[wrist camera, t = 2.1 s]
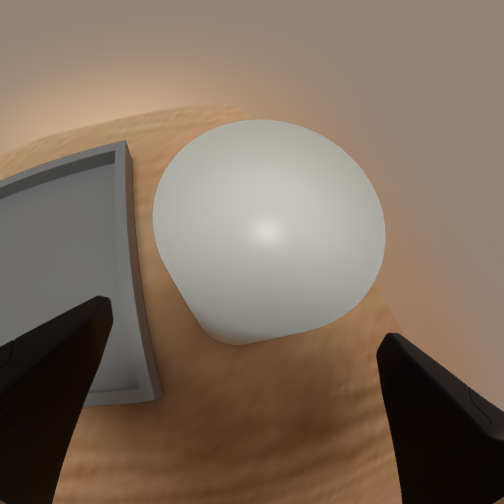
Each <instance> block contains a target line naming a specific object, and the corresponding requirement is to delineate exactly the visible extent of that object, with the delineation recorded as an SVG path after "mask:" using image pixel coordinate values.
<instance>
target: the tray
mask: <svg viewBox="0 0 504 504" xmlns="http://www.w3.org/2000/svg"><path fill="white" fill-rule="evenodd" d="M98 295H100V296H105V297H109V298H110V300H111V304H112V312H113V326H112V329H111V332H110V335H109V338H108V341H107V344H106V347H105V351H104V354H103V357H102V360H101V363H100V366H99V368H98V371H97V373H96V375H95V378H94V380H93V383H92V385H91V387H90V390H89V392H88V395H87V397H86V400H85V402H84V405H83V406H103V405H118V404H129V403H139V402H148V401H155V400H157V399H158V398H159V397H160V396H162V395H163V392H162V388H161V384H160V380H159V376H158V371H157V367H156V363H155V358H154V353H153V349H152V344H151V339H150V333H149V328H148V323H147V317H146V311H145V305H144V298H143V292H142V285H141V277H140V269H139V261H138V252H137V242H136V230H135V217H134V201H133V177H132V158H131V155H130V152H129V149H128V146H127V143H126V140H124V141H120V142H116V143H112V144H108V145H104V146H100V147H96V148H92V149H89V150H85V151H82V152H78V153H75V154H72V155H69V156H65V157H62V158H59V159H56V160H53V161H50V162H47V163H44V164H42V165H39V166H36V167H33V168H31V169H28V170H25V171H23V172H20V173H18V174H15V175H13V176H10V177H8V178H6V179H3V180H1V181H0V346H2V345H4V344H6V343H8V342H10V341H11V340H15V338H17V337H19V336H21V335H23V334H24V333H26V332H28V331H30V330H32V329H34V328H36V327H37V326H39V325H41V324H43V323H45V322H47V321H49V320H51V319H53V318H55V317H56V316H58V315H60V314H62V313H64V312H66V311H68V310H70V309H72V308H74V307H76V306H78V305H80V304H82V303H84V302H86V301H87V300H89V299H91V298H93V297H95V296H98Z"/></svg>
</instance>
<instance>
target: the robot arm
mask: <svg viewBox="0 0 504 504" xmlns="http://www.w3.org/2000/svg"><path fill="white" fill-rule="evenodd" d="M112 326H113V312H112V304H111V300H110V298H109V297H105V296H100V295H98V296H95V297H93V298H91V299H89V300H87V301H86V302H84V303H82V304H80V305H78V306H76V307H74V308H72V309H70V310H68V311H66V312H64V313H62V314H60V315H58V316H56V317H55V318H53V319H51V320H49V321H47V322H45V323H43V324H41V325H39V326H37V327H36V328H34V329H32V330H30V331H28V332H26V333H24V334H23V335H21V336H19V337H17V338H15V340H11V341H10V342H8V343H6V344H4V345H2V346H0V504H52V502H53V498H54V494H55V490H56V486H57V483H58V479H59V476H60V471H61V468H62V465H63V462H64V459H65V455H66V452H67V449H68V446H69V443H70V440H71V437H72V435H73V432H74V429H75V426H76V423H77V421H78V418H79V415H80V413H81V410H82V407H83V405H84V402H85V400H86V397H87V395H88V392H89V390H90V387H91V385H92V383H93V380H94V378H95V375H96V373H97V371H98V368H99V366H100V363H101V360H102V357H103V354H104V351H105V347H106V344H107V341H108V338H109V335H110V332H111V329H112ZM376 357H377V363H378V370H379V376H380V383H381V390H382V395H383V400H384V404H385V408H386V413H387V417H388V422H389V426H390V431H391V436H392V441H393V446H394V451H395V457H396V463H397V468H398V475H399V481H400V488H401V494H402V495H401V496H402V504H504V412H503V411H502V410H500V409H499V408H497V407H496V406H494V405H493V404H492V403H490V402H489V401H487V400H486V399H484V398H483V397H481V396H480V395H479V394H478V393H476V392H475V391H474V390H472V389H471V388H470V387H468V386H467V385H466V384H465V383H463V382H462V381H461V380H459V379H458V378H457V377H455V376H454V375H453V374H452V373H450V372H449V371H448V370H446V369H445V368H444V367H443V366H441V365H440V364H439V363H437V362H436V361H435V360H433V359H432V358H431V357H429V356H428V355H427V354H425V353H424V352H423V351H421V350H420V349H419V348H417V347H416V346H415V345H413V344H412V343H411V342H409V341H408V340H407V339H405V338H404V337H403V336H401V335H400V334H399V333H388V334H386V335H385V337H384V339H383V341H382V343H381V345H380V346H379V348H378V350H377V354H376Z"/></svg>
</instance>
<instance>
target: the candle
mask: <svg viewBox="0 0 504 504" xmlns="http://www.w3.org/2000/svg"><path fill="white" fill-rule="evenodd" d="M153 230H154V235H155V240H156V245H157V248H158V250H159V253H160V256H161V259H162V261H163V263H164V265H165V267H166V268H167V270H168V272H169V274H170V276H171V278H172V279H173V281H174V283H175V285H176V286H177V288H178V290H179V291H180V293H181V295H182V297H183V298H184V300H185V302H186V303H187V305H188V307H189V308H190V310H191V312H192V313H193V315H194V317H195V318H196V320H197V321H198V323H199V325H200V326H201V328H202V329H203V330H204V331H205V332H206V333H207V334H208V335H209V336H210V337H212V338H213V339H215V340H217V341H219V342H221V343H224V344H228V345H244V344H250V343H255V342H260V341H265V340H270V339H274V338H279V337H284V336H288V335H292V334H297V333H301V332H305V331H309V330H314V329H316V328H319V327H322V326H324V325H327V324H329V323H331V322H333V321H335V320H337V319H338V318H340V317H342V316H343V315H345V314H346V313H347V312H349V311H350V310H351V309H352V308H354V307H355V306H356V305H357V304H358V303H359V302H360V301H361V299H362V298H363V297H364V296H365V295H366V294H367V292H368V291H369V289H370V288H371V286H372V285H373V283H374V281H375V279H376V277H377V274H378V273H379V270H380V267H381V264H382V260H383V256H384V250H385V223H384V217H383V213H382V208H381V205H380V202H379V200H378V197H377V194H376V192H375V190H374V188H373V186H372V184H371V182H370V181H369V180H368V178H367V176H366V175H365V174H364V172H363V171H362V169H361V168H360V167H359V166H358V165H357V163H355V161H354V160H353V159H352V158H351V157H350V156H349V155H348V154H347V153H346V152H344V151H343V150H342V149H341V148H339V147H338V146H337V145H336V144H334V143H333V142H331V141H330V140H328V139H327V138H325V137H323V136H321V135H319V134H317V133H315V132H313V131H311V130H309V129H306V128H303V127H301V126H298V125H294V124H291V123H286V122H281V121H274V120H245V121H237V122H233V123H229V124H225V125H222V126H219V127H216V128H214V129H211V130H209V131H207V132H205V133H203V134H201V135H200V136H198V137H197V138H195V139H194V140H192V141H191V142H189V143H188V144H187V145H186V146H185V147H184V148H183V149H182V150H180V151H179V153H178V154H177V155H176V156H175V157H174V158H173V160H172V161H171V162H170V164H169V165H168V167H167V168H166V170H165V172H164V173H163V176H162V178H161V180H160V182H159V184H158V188H157V191H156V195H155V198H154V206H153Z"/></svg>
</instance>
